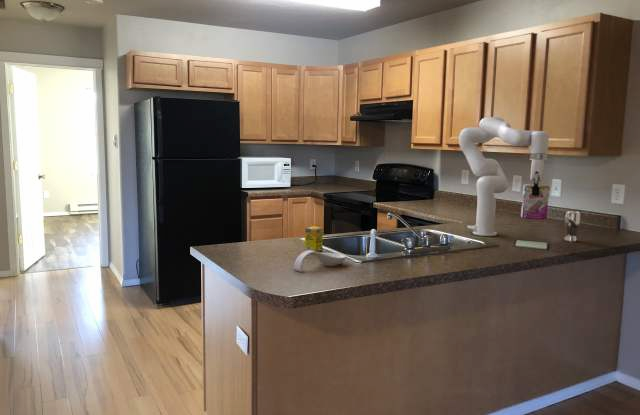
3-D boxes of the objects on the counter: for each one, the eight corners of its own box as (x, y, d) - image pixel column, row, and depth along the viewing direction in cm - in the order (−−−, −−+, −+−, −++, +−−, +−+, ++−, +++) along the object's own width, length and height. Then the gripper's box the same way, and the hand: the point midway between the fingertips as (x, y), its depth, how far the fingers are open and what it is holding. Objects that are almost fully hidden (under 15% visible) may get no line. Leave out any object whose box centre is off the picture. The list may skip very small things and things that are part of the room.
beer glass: (571, 242, 259) (574, 213, 257) (559, 240, 265) (562, 211, 263) (580, 241, 262) (583, 212, 260) (568, 239, 268) (571, 210, 266)
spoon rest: (331, 259, 215) (331, 242, 214) (351, 265, 206) (352, 247, 205) (287, 268, 199) (287, 250, 198) (307, 275, 191) (308, 256, 189)
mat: (515, 246, 247) (515, 245, 247) (516, 241, 260) (516, 240, 260) (546, 249, 242) (546, 248, 241) (546, 244, 254) (547, 242, 254)
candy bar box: (522, 218, 247) (524, 185, 245) (520, 217, 252) (523, 184, 250) (547, 220, 245) (549, 186, 243) (544, 218, 250) (547, 185, 248)
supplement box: (315, 254, 224) (316, 229, 222) (304, 252, 227) (304, 228, 225) (322, 251, 229) (323, 227, 227) (311, 249, 232) (312, 226, 230)
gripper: (530, 156, 254) (527, 192, 256) (529, 157, 238) (526, 196, 241) (547, 156, 251) (544, 193, 253) (546, 158, 235) (543, 197, 238)
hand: (535, 194), depth 247 cm, fingers closed on candy bar box, 5 cm apart
